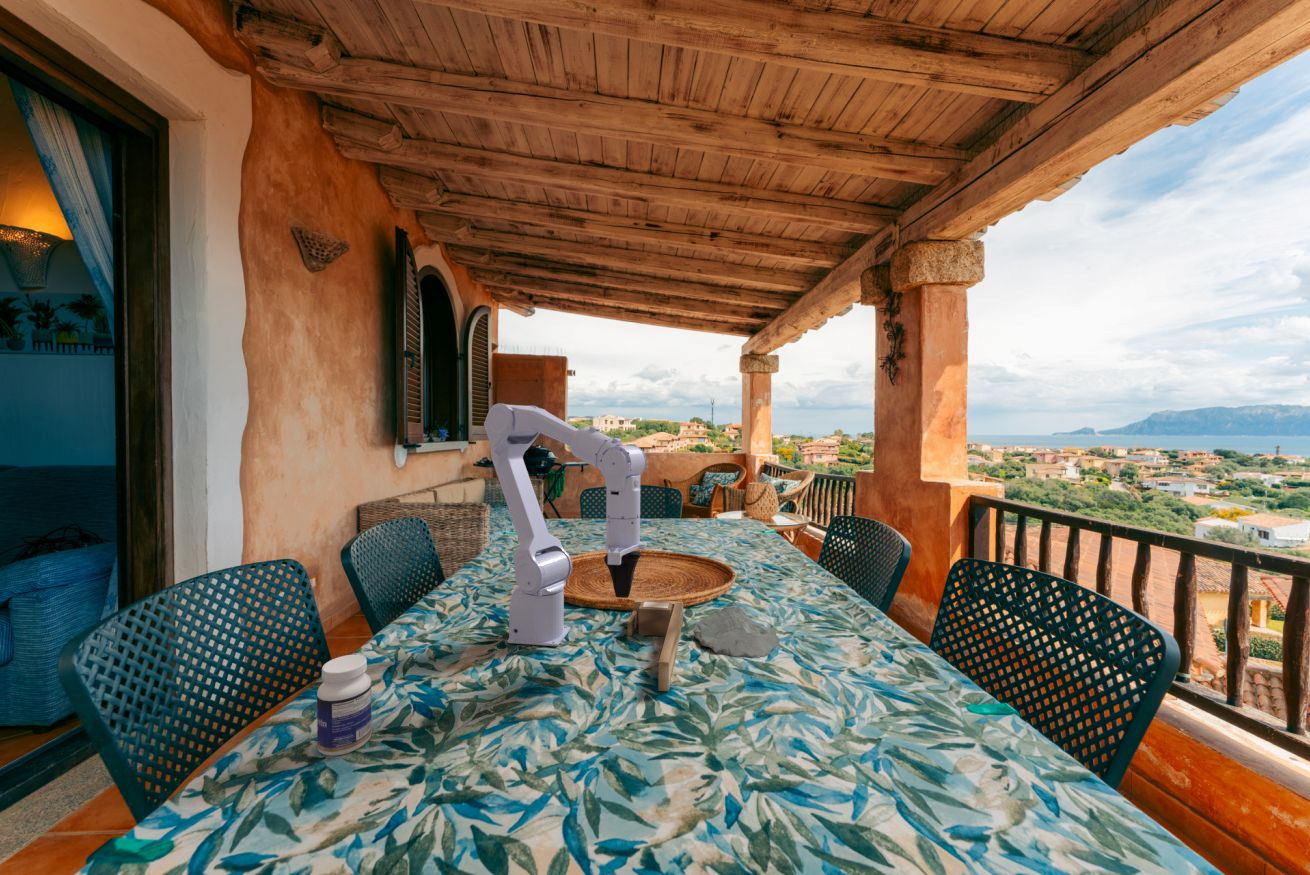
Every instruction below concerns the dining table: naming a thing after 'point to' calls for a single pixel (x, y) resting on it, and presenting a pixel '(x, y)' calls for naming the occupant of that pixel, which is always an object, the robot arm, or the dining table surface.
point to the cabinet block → (654, 618)
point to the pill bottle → (344, 706)
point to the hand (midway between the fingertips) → (622, 596)
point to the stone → (735, 634)
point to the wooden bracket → (669, 644)
